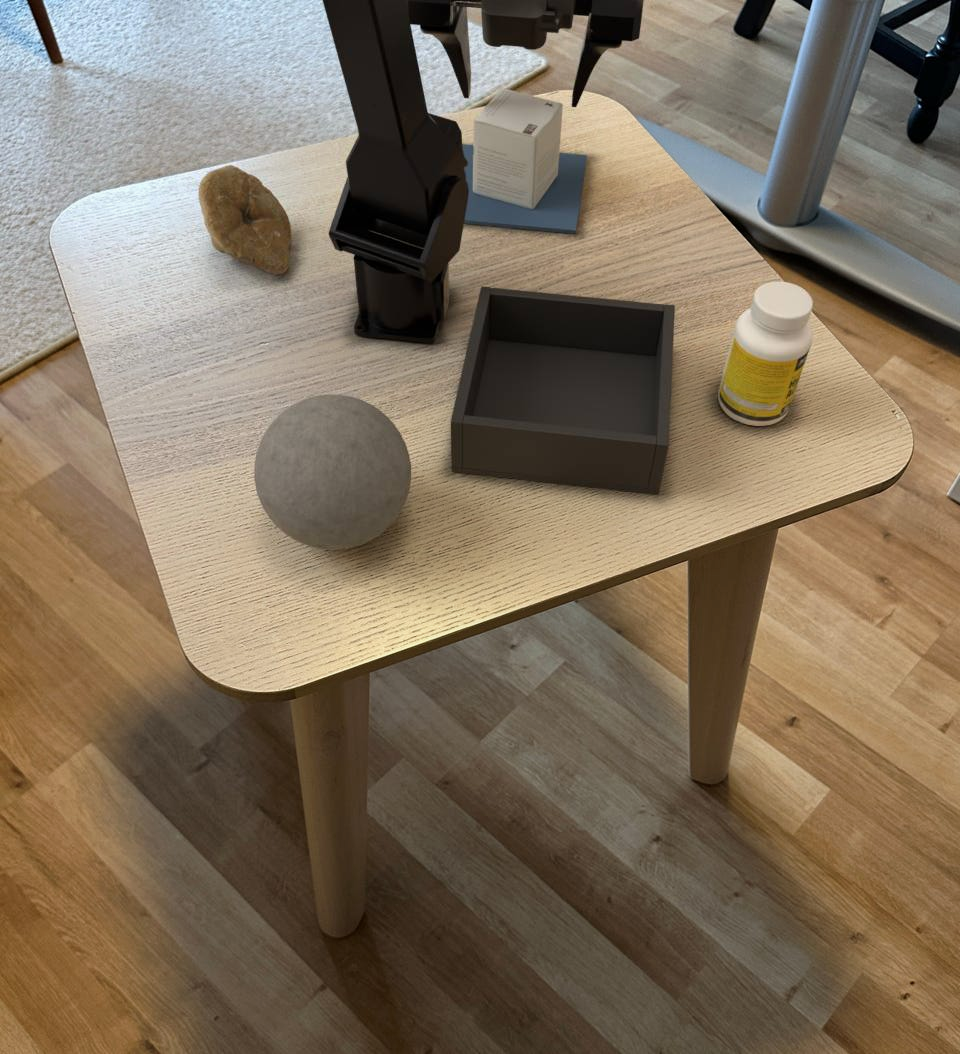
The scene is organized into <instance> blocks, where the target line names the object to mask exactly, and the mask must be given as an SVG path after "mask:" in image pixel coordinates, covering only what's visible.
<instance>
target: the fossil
mask: <svg viewBox="0 0 960 1054" xmlns="http://www.w3.org/2000/svg"><path fill="white" fill-rule="evenodd" d="M197 194H198V195H197V196H198V202H199V206H200V209H201V214H202V216H203V221H204V222H203V223H204V225H205V228H206V230H207V233H208V234H209V235H210V241H211V244H212V246H213V247H214V248H215V250H216V251H217V252H219V253H222V254H226V255H228V256H230V257H231V258H232V259H234V260H237V261H239V262H241V263H244V264H246V265H249V266H251V267H253V268H255V269H257V270H260V271H261V272H263V273H265V274H268V275H271V276H272V275H281V274H284V273H285V272H286V271H288V270H289V268H290V266H291V259H292V258H291V253H290V250H289V247H290V244H291V242H292V238H293V236H292V233H293V232H292V231H293V230H292V226H291V221H290V219H289V215H288V214H287V211H286V210H285V208H284V207H283V206H282V204H281V203H280V200H279V199H278V198H277V197H276V196H275V195H274V194H273V192H272V191H271V190H270V189H269V188H268V187H266V186H265V185H263V182H262V181H261V179H259V178H258V177H256V176H255V175H253V174H250V173H248V172H246V171H245V170H244V169H243V170H242V169H240V168H239V167H238V166H234V165H231V164H230V165H225V166H223V167H219V168H216V169H213V170H210V171H209V172H207V173H206V174H205V175H204V176H203V177H202V178H201V181H200V182H199V186H198V193H197Z"/></svg>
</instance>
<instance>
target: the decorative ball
mask: <svg viewBox="0 0 960 1054" xmlns="http://www.w3.org/2000/svg"><path fill="white" fill-rule="evenodd" d="M253 468H254V469H253V470H254V472H253V473H254V486H255V491H256V494H257V497H258V499H259V502H260V504H261V507H262V508H263V511H264V512H265V514H266V515H267V517H268V518H269V519H270V520H271V521H272V523H273V524H274V525H275V526H276V527H277V528H278V530H280V531H281V532H282V533H284V534H285V535H286V536H287V537H289V538H290V539H292V540H294V541H296V542H297V543H299V544H302V545H305V546H307V547H310V548H314V549H318V550H323V551H325V550H327V551H342V550H348V549H353V548H356V547H360V546H362V545H365V544H367V543H369V542H371V541H373V540H375V539H377V538H378V537H379V536H380V535H382V534H384V532H385V531H387V530H388V529H389V527H391V526H392V524H393V523H394V522H395V521H396V520H397V518H398V517H399V515H400V514H401V512H402V511H403V508H404V506H405V505H406V501H407V499H408V496H409V494H410V493H409V492H410V489H411V483H412V462H411V458H410V453H409V450H408V447H407V444H406V442H405V440H404V438H403V435H402V434H401V432H400V430H399V429H398V427H397V426H396V425H395V423H394V422H392V420H391V419H390V417H388V416H387V415H386V414H385V413H384V412H383V411H382V410H380V409H379V408H378V407H376V406H374V405H373V404H371V403H369V402H367V401H365V400H362V399H360V398H357V397H353V396H349V395H346V394H345V395H344V394H331V393H329V394H319V395H314V396H310V397H307V398H304V399H302V400H300V401H297V402H295V403H294V404H291V405H290V406H289V407H287V408H285V409H284V410H283V411H282V412H280V413H279V414H278V415H277V417H275V419H273V420H272V422H271V423H270V424H269V426H268V427H267V429H266V430H265V432H264V433H263V435H262V437H261V439H260V442H259V444H258V447H257V450H256V454H255V460H254V467H253Z"/></svg>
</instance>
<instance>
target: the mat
mask: <svg viewBox="0 0 960 1054" xmlns="http://www.w3.org/2000/svg"><path fill="white" fill-rule="evenodd" d="M462 146H463V152H464V156H465V158H466V159H467V161H468V165H467V166H466V167H464V170H465V174H466V181H467V183H468V188H469V196H468V203H467V209H466V215H465V221H464V225H475V226H485V227H486V226H487V227H497V228H508V229H517V230H527V231H540V232H549V233H550V232H552V233H559V234H560V233H561V234H571V235H572V234H573V235H576V234H577V229H578V221H579V215H580V208H581V201H582V196H583V195H582V194H583V189H584V181H585V174H586V166H587V161H588V160H587V159H588V155H587V154H579V153H568V152H567V153H566V152H559V164H558V175H557V177H556V178H555V180H554V181H553V182H552V184H551V185H550V187H549V188H548V190H547V191H546V192H545V194H544V195H543V197H542V198H541V199H540V201H539V202H538V203H537V205H536V206H535V208H534V209H529V208H525V207H521V206H518V205H514V204H511V203H507V202H503V201H500V200H496V199H492V198H489V197H485V196H481V195H478V194H475V193H474V192H473V144H466V143H465V144H464V143H462Z"/></svg>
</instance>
